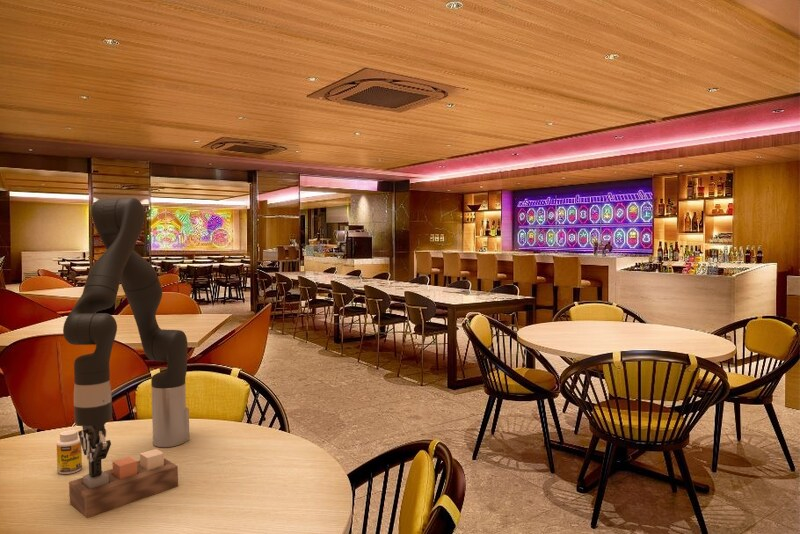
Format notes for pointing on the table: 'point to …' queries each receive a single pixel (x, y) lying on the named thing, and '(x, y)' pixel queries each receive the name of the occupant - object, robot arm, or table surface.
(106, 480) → the slate key
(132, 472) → the terracotta key
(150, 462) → the ivory key
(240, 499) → the table surface
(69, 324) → the robot arm
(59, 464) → the supplement bottle
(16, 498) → the table surface
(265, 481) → the table surface
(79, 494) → the frame
